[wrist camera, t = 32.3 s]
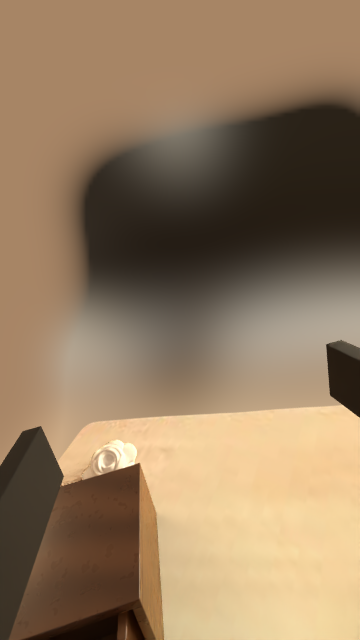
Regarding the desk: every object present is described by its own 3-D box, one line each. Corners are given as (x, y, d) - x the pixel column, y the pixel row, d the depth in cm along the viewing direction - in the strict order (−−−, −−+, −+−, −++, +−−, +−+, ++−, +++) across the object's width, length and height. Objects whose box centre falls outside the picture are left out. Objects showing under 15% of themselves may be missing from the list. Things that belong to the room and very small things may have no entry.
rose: (118, 424, 53) (143, 445, 46) (124, 441, 55) (149, 465, 47) (70, 455, 48) (89, 485, 40) (78, 473, 49) (97, 506, 41)
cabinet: (165, 663, 24) (139, 599, 22) (14, 719, 23) (-32, 658, 21) (156, 512, 39) (139, 462, 36) (62, 542, 37) (38, 493, 35)
